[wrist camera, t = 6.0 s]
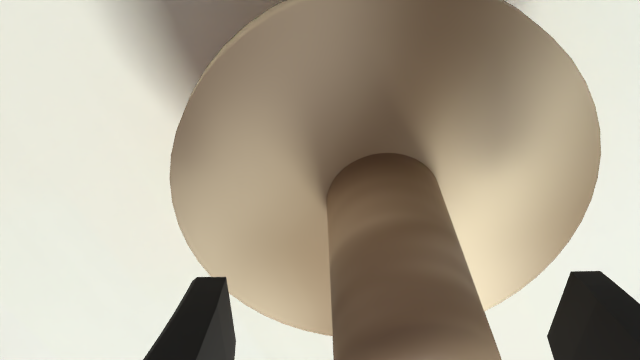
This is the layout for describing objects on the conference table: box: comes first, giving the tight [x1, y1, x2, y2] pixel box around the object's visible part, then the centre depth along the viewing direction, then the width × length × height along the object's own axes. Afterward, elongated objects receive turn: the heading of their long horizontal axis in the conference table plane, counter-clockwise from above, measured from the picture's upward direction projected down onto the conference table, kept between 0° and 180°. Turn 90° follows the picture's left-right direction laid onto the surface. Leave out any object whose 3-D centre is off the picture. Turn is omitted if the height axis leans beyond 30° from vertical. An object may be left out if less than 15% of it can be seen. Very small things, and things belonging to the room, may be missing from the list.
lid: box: [170, 0, 601, 360], centre depth 11 cm, size 10×10×6 cm
